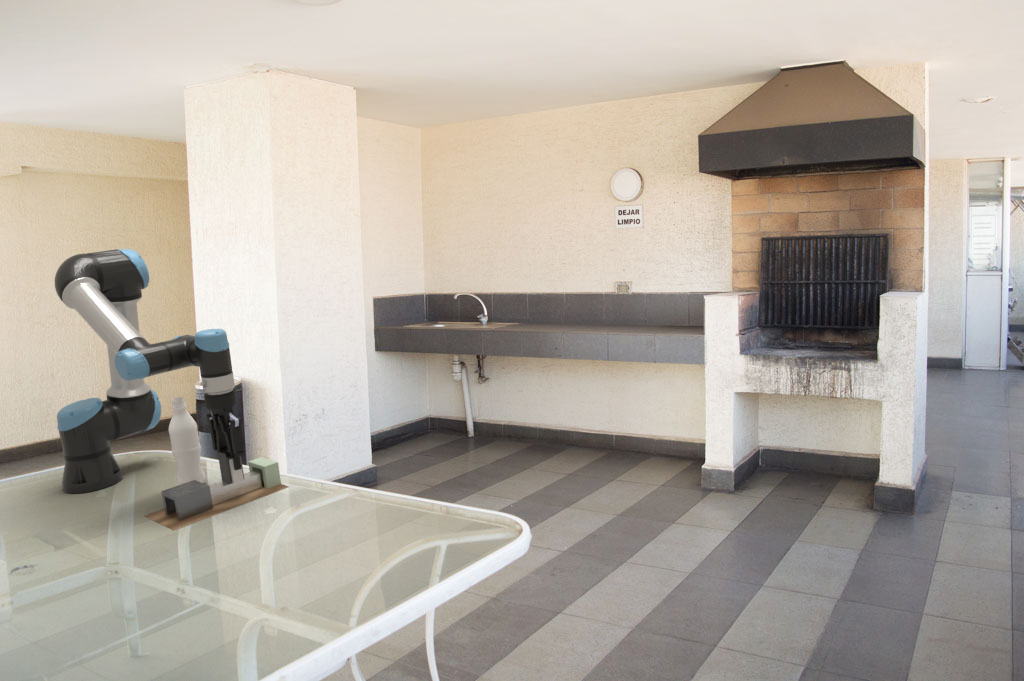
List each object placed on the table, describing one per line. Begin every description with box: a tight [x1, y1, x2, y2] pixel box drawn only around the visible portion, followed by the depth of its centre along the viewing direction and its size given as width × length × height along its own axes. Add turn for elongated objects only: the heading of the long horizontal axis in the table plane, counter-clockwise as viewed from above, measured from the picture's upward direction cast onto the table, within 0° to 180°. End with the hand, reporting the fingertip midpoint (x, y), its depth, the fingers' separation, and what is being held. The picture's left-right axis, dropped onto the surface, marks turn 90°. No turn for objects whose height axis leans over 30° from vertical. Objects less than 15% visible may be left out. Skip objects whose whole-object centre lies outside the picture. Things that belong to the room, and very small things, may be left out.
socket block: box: [247, 456, 282, 489], centre depth 212 cm, size 8×4×6 cm, turn 48°
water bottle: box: [168, 396, 206, 486], centre depth 214 cm, size 7×7×25 cm
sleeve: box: [161, 480, 213, 521], centre depth 196 cm, size 8×8×6 cm
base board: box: [143, 481, 290, 531], centre depth 203 cm, size 16×31×1 cm, turn 138°
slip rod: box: [209, 448, 262, 505], centre depth 202 cm, size 4×21×12 cm, turn 138°
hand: (233, 479), depth 205 cm, fingers closed on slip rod, 4 cm apart
